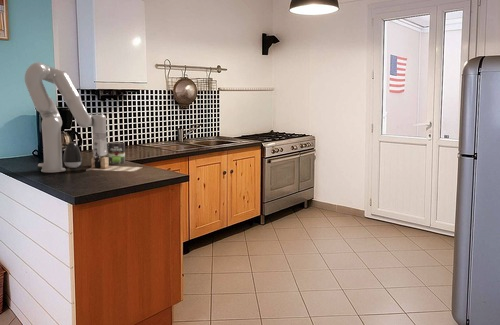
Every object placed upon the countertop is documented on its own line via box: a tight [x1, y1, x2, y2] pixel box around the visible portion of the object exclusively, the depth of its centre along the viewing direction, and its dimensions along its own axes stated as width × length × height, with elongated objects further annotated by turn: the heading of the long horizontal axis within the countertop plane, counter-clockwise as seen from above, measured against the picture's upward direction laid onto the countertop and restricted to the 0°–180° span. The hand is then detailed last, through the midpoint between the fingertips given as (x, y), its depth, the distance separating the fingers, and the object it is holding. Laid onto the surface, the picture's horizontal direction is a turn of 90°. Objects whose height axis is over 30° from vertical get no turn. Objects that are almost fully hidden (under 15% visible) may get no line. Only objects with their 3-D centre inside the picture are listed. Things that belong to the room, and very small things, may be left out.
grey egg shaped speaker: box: [62, 141, 83, 169], centre depth 267 cm, size 10×10×15 cm
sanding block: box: [90, 156, 110, 169], centre depth 259 cm, size 8×5×6 cm, turn 84°
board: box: [85, 165, 144, 172], centre depth 259 cm, size 28×15×1 cm, turn 84°
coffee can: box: [107, 141, 126, 166], centre depth 277 cm, size 10×10×14 cm
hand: (100, 167), depth 260 cm, fingers closed on sanding block, 5 cm apart
